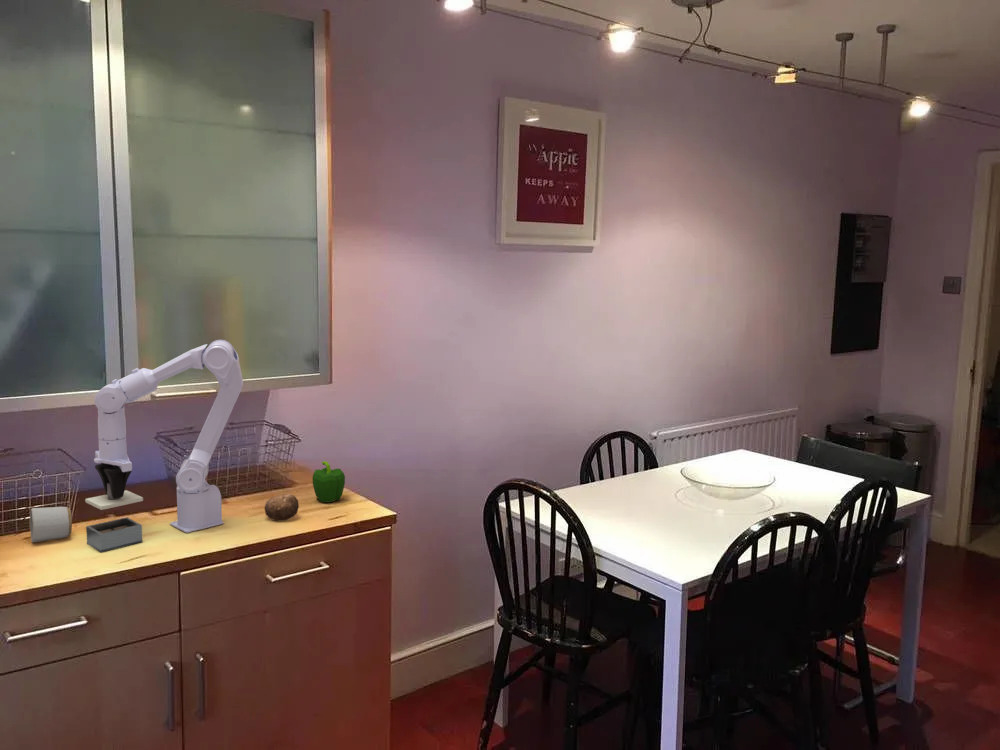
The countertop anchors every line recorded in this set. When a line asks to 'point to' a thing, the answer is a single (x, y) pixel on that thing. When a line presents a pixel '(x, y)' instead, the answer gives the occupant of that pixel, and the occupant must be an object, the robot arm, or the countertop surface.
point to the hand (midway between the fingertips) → (114, 495)
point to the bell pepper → (328, 483)
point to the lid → (110, 502)
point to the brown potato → (282, 507)
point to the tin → (114, 534)
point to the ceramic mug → (50, 523)
